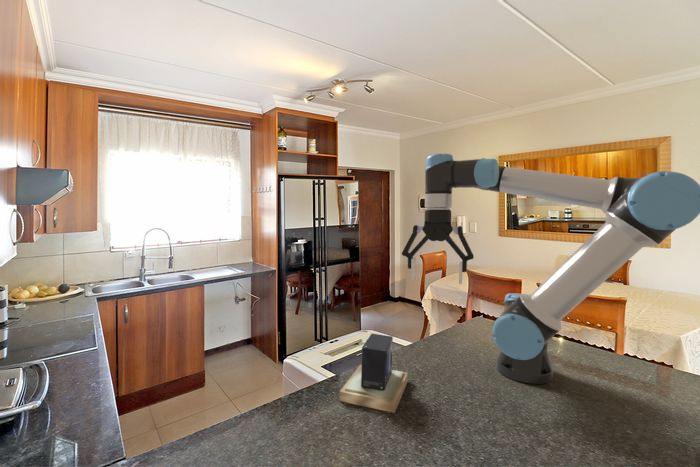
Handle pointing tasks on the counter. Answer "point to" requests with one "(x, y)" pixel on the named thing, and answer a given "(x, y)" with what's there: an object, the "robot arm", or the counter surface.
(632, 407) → the counter surface
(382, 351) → the small box
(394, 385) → the stand
